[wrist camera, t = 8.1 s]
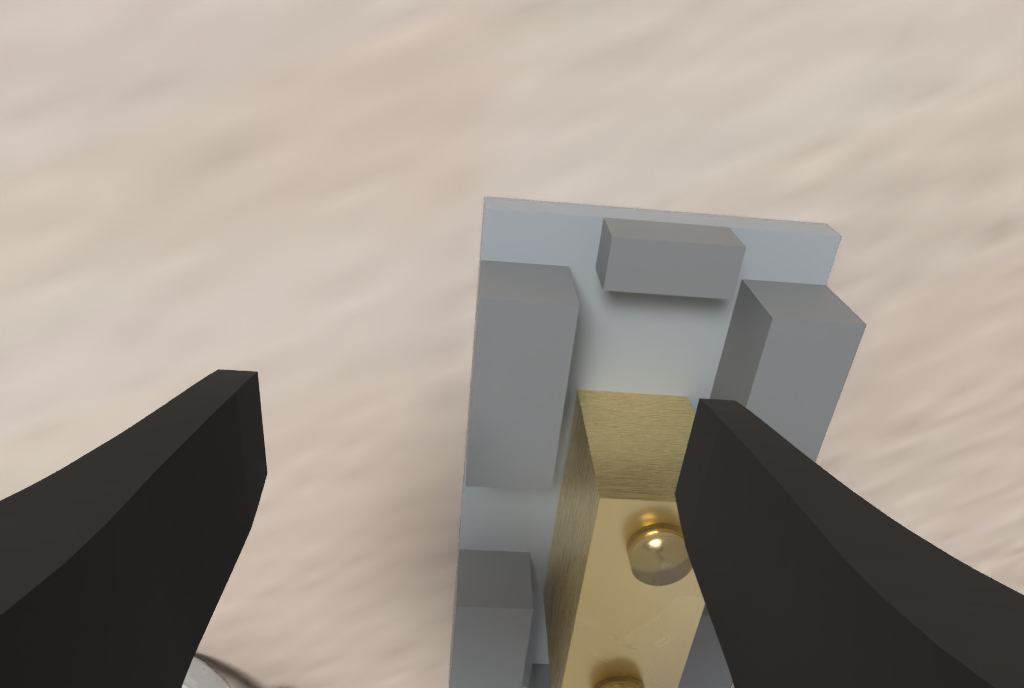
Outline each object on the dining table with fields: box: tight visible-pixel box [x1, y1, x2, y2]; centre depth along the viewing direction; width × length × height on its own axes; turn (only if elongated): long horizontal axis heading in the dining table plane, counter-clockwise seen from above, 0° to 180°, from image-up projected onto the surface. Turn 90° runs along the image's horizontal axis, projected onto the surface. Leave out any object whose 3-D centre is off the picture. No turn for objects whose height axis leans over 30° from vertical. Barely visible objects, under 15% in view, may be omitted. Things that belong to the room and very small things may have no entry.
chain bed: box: [449, 197, 866, 688], centre depth 23 cm, size 10×20×4 cm, turn 175°
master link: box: [543, 389, 705, 688], centre depth 22 cm, size 4×9×6 cm, turn 174°
